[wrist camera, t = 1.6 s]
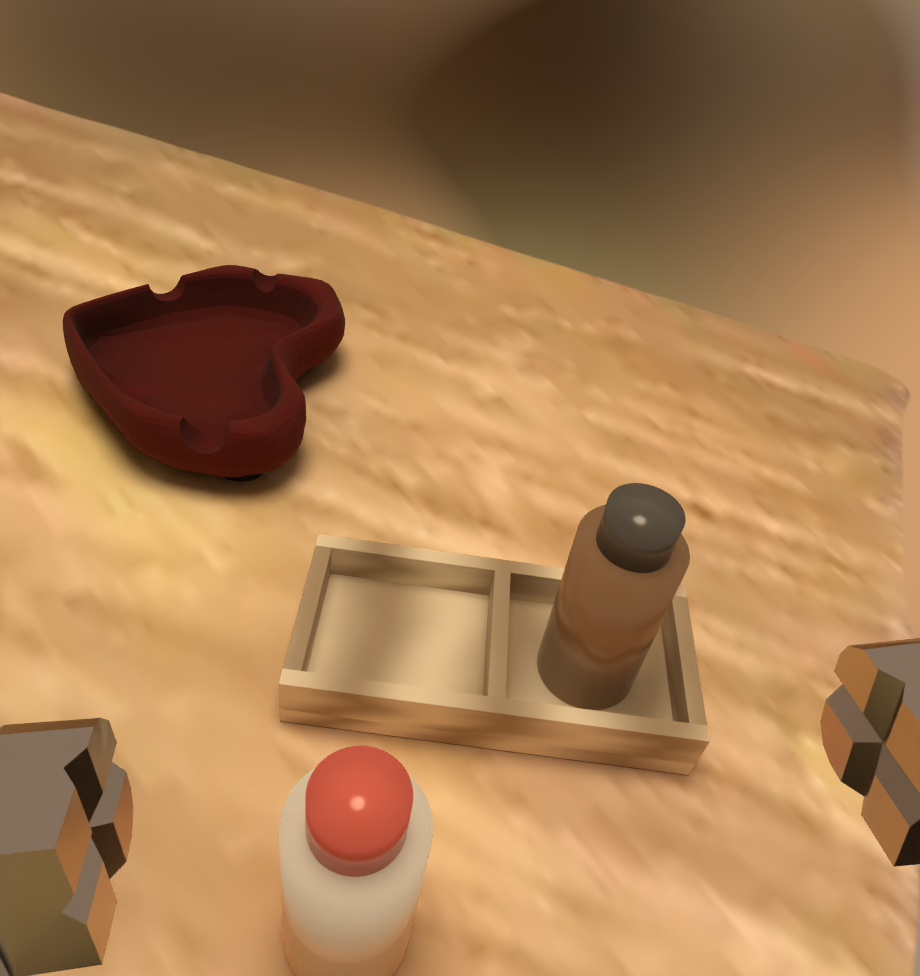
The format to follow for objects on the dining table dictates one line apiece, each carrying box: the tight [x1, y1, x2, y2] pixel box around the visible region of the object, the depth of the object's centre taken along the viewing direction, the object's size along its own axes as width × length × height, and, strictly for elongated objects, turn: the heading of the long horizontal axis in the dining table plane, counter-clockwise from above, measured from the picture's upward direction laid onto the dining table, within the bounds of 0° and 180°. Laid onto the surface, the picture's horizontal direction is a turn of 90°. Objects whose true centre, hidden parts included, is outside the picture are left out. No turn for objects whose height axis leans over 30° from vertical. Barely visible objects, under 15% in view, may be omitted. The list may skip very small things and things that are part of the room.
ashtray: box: [63, 265, 345, 482], centre depth 54 cm, size 18×16×5 cm
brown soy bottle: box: [537, 483, 690, 710], centre depth 38 cm, size 5×5×11 cm
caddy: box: [279, 534, 710, 775], centre depth 42 cm, size 19×9×3 cm, turn 86°
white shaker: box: [279, 746, 433, 976], centre depth 29 cm, size 5×5×11 cm
